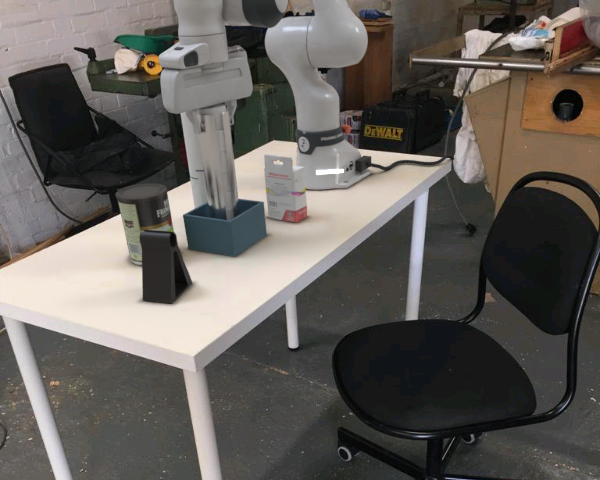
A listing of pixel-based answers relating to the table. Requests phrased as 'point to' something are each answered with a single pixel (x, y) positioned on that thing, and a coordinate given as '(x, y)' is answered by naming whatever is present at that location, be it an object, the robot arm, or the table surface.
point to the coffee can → (143, 214)
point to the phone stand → (162, 267)
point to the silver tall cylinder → (218, 162)
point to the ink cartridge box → (285, 189)
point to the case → (225, 229)
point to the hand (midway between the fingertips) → (214, 129)
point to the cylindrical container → (194, 162)
